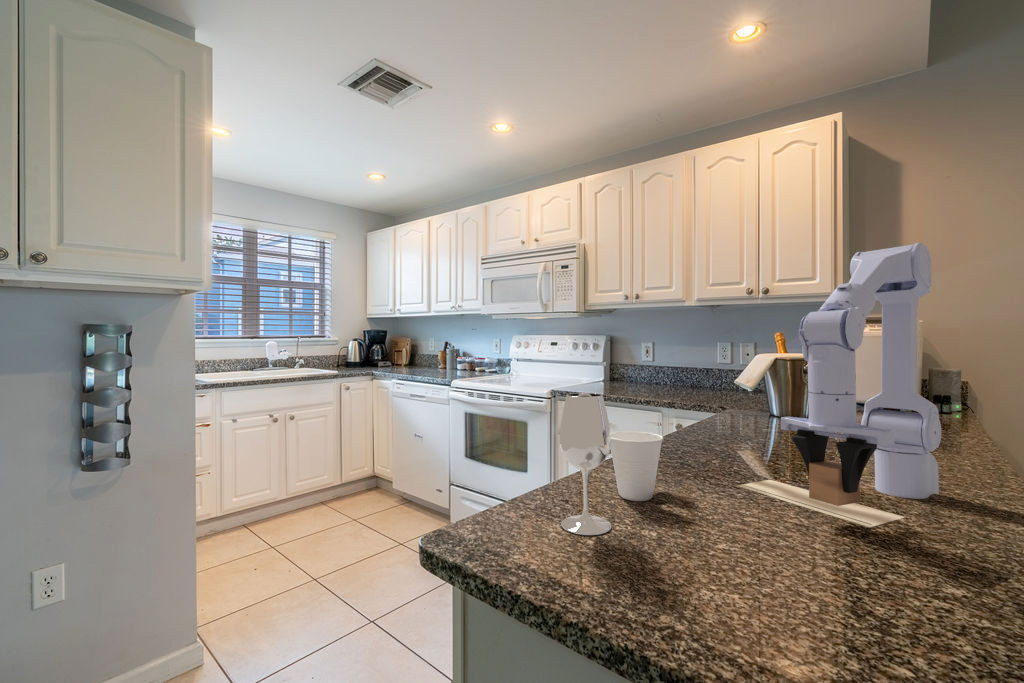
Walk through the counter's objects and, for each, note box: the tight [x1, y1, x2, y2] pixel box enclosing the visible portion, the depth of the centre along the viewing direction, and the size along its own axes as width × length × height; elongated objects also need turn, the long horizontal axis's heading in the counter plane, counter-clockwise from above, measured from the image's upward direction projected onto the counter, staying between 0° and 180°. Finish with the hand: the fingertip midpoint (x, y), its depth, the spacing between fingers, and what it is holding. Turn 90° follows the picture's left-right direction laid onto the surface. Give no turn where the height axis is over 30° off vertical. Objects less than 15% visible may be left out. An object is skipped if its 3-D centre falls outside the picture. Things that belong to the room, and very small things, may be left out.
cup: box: [610, 430, 664, 502], centre depth 85 cm, size 10×10×11 cm
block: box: [808, 460, 869, 506], centre depth 68 cm, size 10×4×5 cm, turn 114°
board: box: [736, 479, 906, 528], centre depth 77 cm, size 9×22×2 cm, turn 24°
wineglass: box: [558, 392, 612, 536], centre depth 71 cm, size 8×8×20 cm
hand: (833, 487), depth 67 cm, fingers closed on block, 4 cm apart
